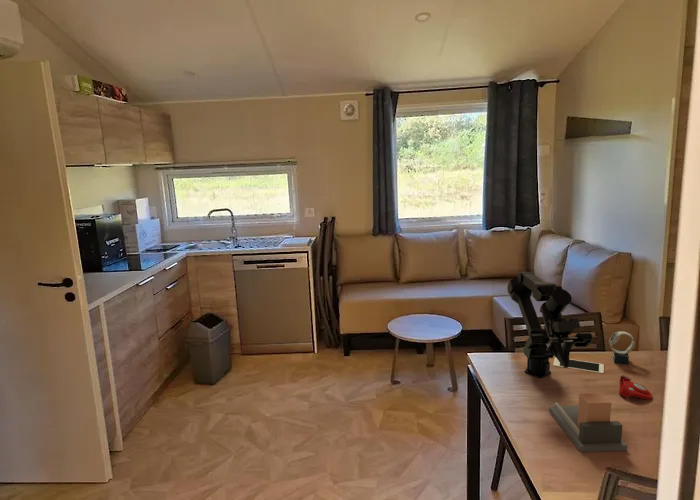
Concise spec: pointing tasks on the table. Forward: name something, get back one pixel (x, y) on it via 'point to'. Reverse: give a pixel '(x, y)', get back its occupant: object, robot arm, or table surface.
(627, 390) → the red tape dispenser
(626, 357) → the watch
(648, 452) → the table surface
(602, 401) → the brown block
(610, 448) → the guide track
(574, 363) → the cell phone
